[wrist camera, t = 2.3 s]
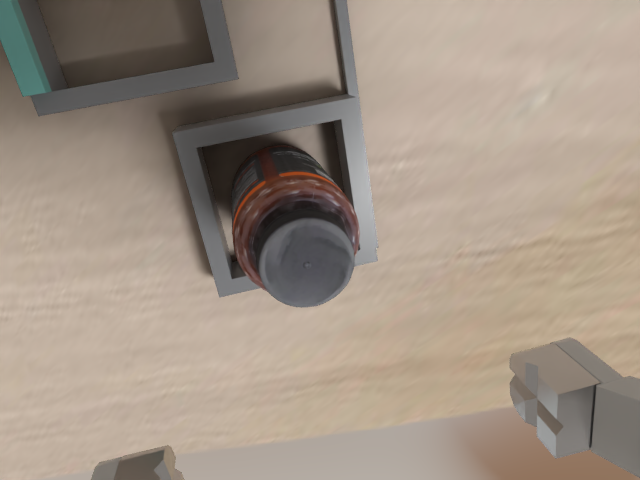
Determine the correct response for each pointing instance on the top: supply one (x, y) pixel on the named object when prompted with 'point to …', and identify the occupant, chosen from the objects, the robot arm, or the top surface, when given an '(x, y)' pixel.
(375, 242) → the double square frame
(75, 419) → the top surface
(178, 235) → the top surface
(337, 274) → the supplement bottle
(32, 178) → the top surface
